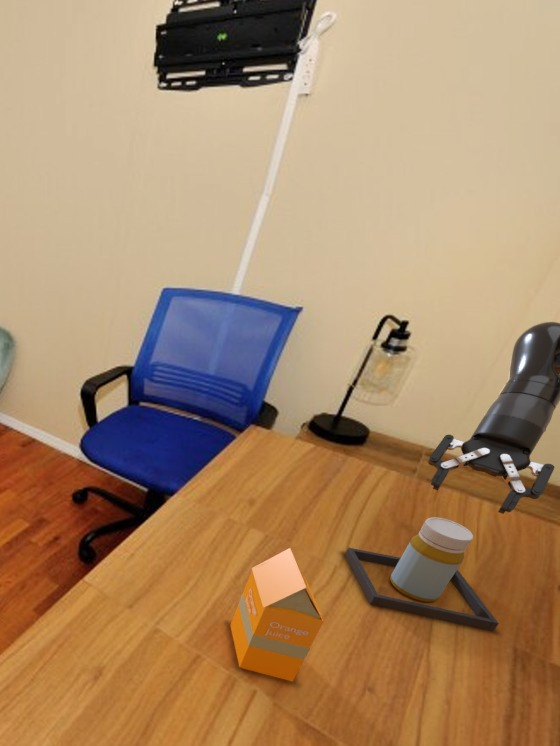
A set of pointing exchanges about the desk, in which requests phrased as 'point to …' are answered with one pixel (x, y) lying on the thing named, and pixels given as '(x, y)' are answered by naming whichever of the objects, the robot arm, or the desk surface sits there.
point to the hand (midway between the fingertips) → (467, 499)
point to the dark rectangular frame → (479, 621)
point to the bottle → (431, 559)
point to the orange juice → (275, 619)
